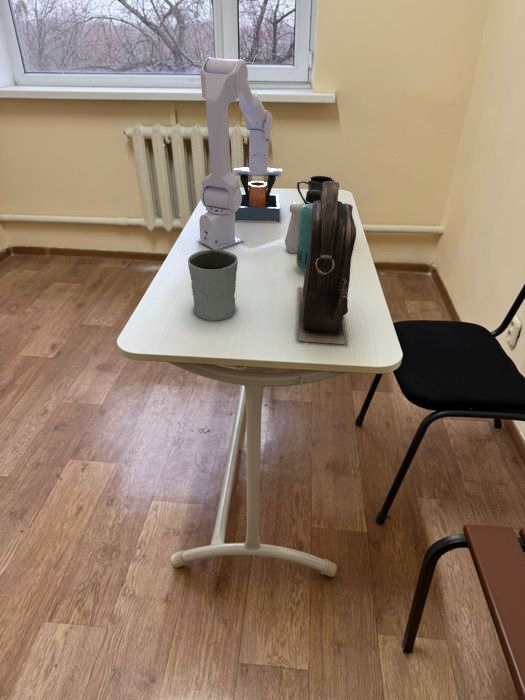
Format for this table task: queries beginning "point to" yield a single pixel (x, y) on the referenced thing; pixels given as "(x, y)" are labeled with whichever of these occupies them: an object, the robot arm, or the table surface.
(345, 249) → the shoulder bag
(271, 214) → the dark grey storage bin
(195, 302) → the grey plant pot
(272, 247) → the table surface
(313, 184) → the mug
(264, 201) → the cup
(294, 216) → the salt shaker
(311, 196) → the beverage bottle
